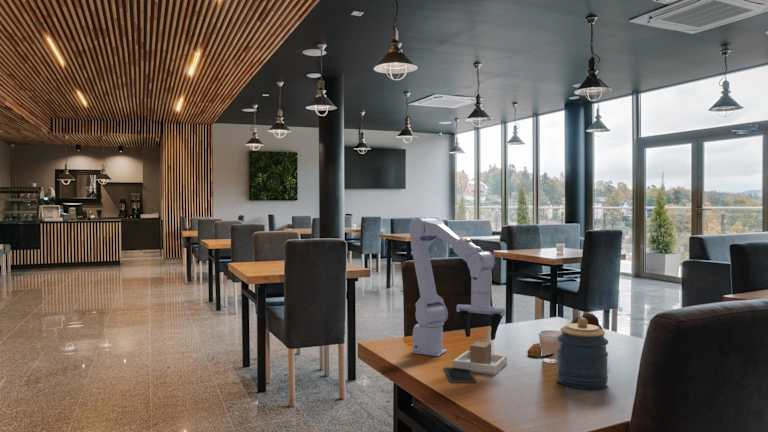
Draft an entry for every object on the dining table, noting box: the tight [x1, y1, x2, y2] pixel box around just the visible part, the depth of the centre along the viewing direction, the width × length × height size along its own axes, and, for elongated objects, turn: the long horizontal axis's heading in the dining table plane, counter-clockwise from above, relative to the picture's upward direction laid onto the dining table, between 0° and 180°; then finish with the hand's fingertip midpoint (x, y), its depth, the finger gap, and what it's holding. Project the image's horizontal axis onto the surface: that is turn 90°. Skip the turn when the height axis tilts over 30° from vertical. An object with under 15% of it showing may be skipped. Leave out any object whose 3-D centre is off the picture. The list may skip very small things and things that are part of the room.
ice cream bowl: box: [570, 312, 606, 337], centre depth 170 cm, size 11×11×15 cm
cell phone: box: [443, 366, 477, 384], centre depth 155 cm, size 7×14×1 cm, turn 2°
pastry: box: [526, 342, 542, 358], centre depth 178 cm, size 9×7×4 cm
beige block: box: [469, 340, 492, 365], centre depth 164 cm, size 4×6×6 cm
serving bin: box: [452, 350, 508, 376], centre depth 164 cm, size 13×13×2 cm
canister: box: [556, 318, 609, 391], centre depth 149 cm, size 13×13×18 cm
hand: (480, 337), depth 164 cm, fingers open, 7 cm apart
